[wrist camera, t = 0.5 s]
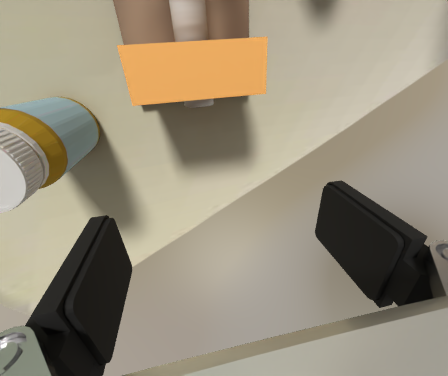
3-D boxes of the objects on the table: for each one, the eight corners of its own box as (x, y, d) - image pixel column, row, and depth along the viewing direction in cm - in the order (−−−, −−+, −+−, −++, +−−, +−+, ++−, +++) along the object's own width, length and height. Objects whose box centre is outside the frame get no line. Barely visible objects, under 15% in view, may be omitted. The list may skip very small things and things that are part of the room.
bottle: (108, 114, 27) (42, 153, 14) (93, 160, 29) (25, 230, 17) (44, 84, 24) (-109, 99, 12) (33, 138, 27) (-104, 200, 14)
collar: (239, 48, 24) (267, 36, 16) (240, 87, 26) (265, 93, 18) (138, 54, 23) (117, 45, 15) (147, 95, 25) (132, 105, 17)
